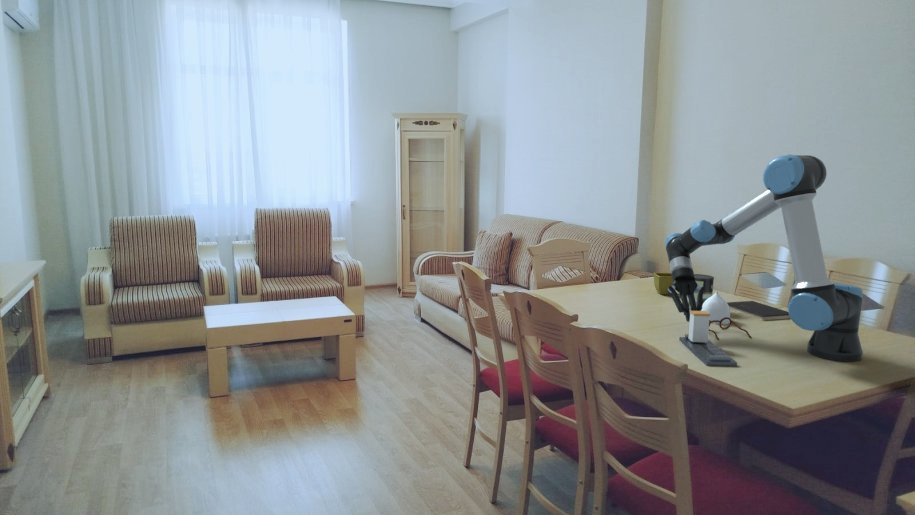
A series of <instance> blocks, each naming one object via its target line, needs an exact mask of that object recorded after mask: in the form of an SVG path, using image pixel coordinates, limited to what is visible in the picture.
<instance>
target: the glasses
mask: <svg viewBox="0 0 915 515" xmlns="http://www.w3.org/2000/svg"><path fill="white" fill-rule="evenodd" d="M725 319H729V320H730V323H728V324H727V326H726V327H723V326H722V324H721V323H722V321H723V320H725ZM712 322H719V324H718V326H719V328H720V329H722V330H727V329H729V328H730V327H731V326H732V325H733V326H735V327H736V328H737V329H739V330H740V331H743V332H745V333H746V335H747V336H748V338H749V339H751V340H752V339H753V338H752V336H751V334H750V333H749V331H748V330H746V329H744V328H742V327H741V326H739V325H738V324H736V323H735V322H734V321H733V320H732V319H731V317H730V318H728V317H725V318H723V319H721V320H720V321H719V320H713V321H710V320H709V331H708V332H711V333H713V334H714V336H715V339H716V340H717V341H720V338H719V337H718V334H717V332H716V331H715V330H713V329H710V327H711V323H712Z"/></svg>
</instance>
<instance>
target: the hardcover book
mask: <svg viewBox="0 0 915 515" xmlns="http://www.w3.org/2000/svg"><path fill="white" fill-rule="evenodd" d="M726 302H727V301H726ZM727 304H728V305H729V308H730V310H731V309H732V310H731V311H734V310H735V311H734V312H738V313H739V314H742V313H743V315H745V314H746V315H745V316H748V315H749V317H751V316H753V317H752V318H754V317H755V319H757V318H758V319H757V320H760V319H761V320H760V321H773V320H785V319H791V318H790V316H789V313H788V311H787V310H783V309H780V308H778V307H774V306H771V305H767V304H765V303H761V302H758V301H755V300H746V301H730V302H727Z"/></svg>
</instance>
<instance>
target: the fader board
mask: <svg viewBox="0 0 915 515" xmlns="http://www.w3.org/2000/svg"><path fill="white" fill-rule="evenodd" d="M688 337H689V333H688V334H687V333H686V334H684V336H680V337H679V339H678V341H679V342H680V341H681V342H682V343H681V342H680V343H681V344H683V346H685V347H686V348H687V349H688V350H689V351H690V352H691V354H693V355H695V356H696V357H697V358H698V359H699V360H700V361H701V362H702V363H703V364H704V365H705V366H708V367H710V366H711V367H712V366H714V367H737V365H738V362H737V361H736V360H735V359H734V358H732V357H731V356H730V355H729V354H727V353H726V352H725V351H724V350H722V349H721V348H720V347H719V346H717V345H716V344H715V343H713V342H712V341H711V340H710V339H708V342H692V341H691V340H689V339H688Z"/></svg>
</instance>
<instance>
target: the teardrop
mask: <svg viewBox="0 0 915 515" xmlns="http://www.w3.org/2000/svg"><path fill="white" fill-rule="evenodd" d="M701 311H706V312H708V313H709V314H710V318H709V320H710V321H713V320H719V321H720V320H721V319H723V318H725V317H728V318H730V319H731V309H730V308H729V305H728V304H727V301H726V300H725V299H724V298H723V297H722V296H721V294H720V293H719V292H718V290H716V291H715V293H714V294H712V296H711V297H709V298H708V299H707V300H706V301H705V302H704V303H703V305H702V310H701ZM712 323H715V324H714V325H719V322H712ZM729 323H730V320H729V319H725V320H723V321H722V323H721V325H729Z"/></svg>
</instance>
